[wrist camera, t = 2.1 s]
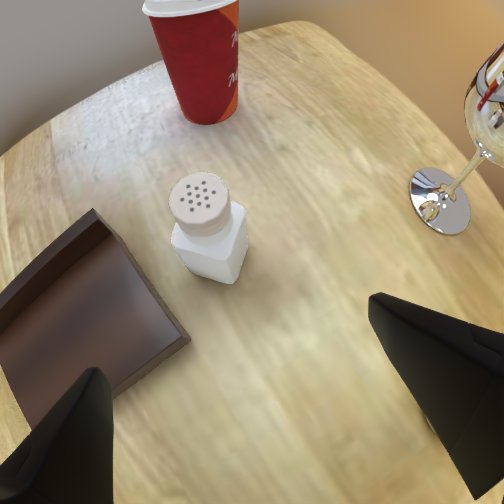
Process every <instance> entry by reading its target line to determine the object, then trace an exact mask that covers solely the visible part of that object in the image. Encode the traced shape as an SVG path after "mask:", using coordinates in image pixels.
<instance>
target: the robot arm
mask: <svg viewBox="0 0 504 504" xmlns="http://www.w3.org/2000/svg"><path fill="white" fill-rule="evenodd" d="M368 317H369V321H370V324H371V325H372V327H373V329H374V331H375V333H376V335H377V337H378V339H379V341H380V343H381V345H382V347H383V349H384V351H385V353H386V354H387V356H388V358H389V360H390V361H391V363H392V364H393V366H394V367H395V369H396V370H397V372H398V373H399V375H400V376H401V378H402V380H403V381H404V383H405V384H406V386H407V387H408V389H409V390H410V392H411V393H412V395H413V397H414V398H415V400H416V401H417V403H418V404H419V406H420V408H421V409H422V411H423V412H424V414H425V416H426V417H427V419H428V420H429V422H430V424H431V425H432V427H433V429H434V430H435V432H436V434H437V435H438V437H439V438H440V440H441V442H442V443H443V445H444V447H445V449H446V450H447V452H448V453H449V456H450V457H451V459H452V461H453V462H454V464H455V466H456V468H457V469H458V471H459V473H460V475H461V476H462V478H463V480H464V482H465V484H466V485H467V487H468V489H469V491H470V493H471V494H472V496H473V498H474V499H475V500H477V499H479V498H480V497H481V496H483V495H484V494H485V493H487V492H488V491H489V490H490V489H492V488H493V487H494V486H495V485H497V484H498V483H499V482H500V481H501V480H503V479H504V334H503V333H499V332H495V331H492V330H489V329H486V328H483V327H479V326H477V325H474V324H471V323H469V324H468V322H465V321H462V320H459V319H457V318H454V317H451V316H448V315H445V314H442V313H439V312H437V311H434V310H431V309H428V308H425V307H422V306H419V305H416V304H414V303H411V302H408V301H405V300H402V299H399V298H396V297H394V296H391V295H388V294H385V293H382V292H379V293H376V294H373V295H371V296H370V297H369V307H368ZM113 434H114V424H113V405H112V387H111V384H110V382H109V381H108V379H107V378H106V376H105V375H104V373H103V372H102V370H101V369H100V368H99V367H90V368H87V369H86V370H85V371H84V372H83V373H82V374H81V375H80V376H79V378H78V379H77V380H76V381H75V382H74V383H73V384H72V385H71V386H70V388H69V389H68V390H67V391H66V392H65V393H64V394H63V395H62V397H61V398H60V399H59V400H58V401H57V402H56V403H55V404H54V406H53V407H52V408H51V409H50V410H49V411H48V412H47V414H46V415H45V416H44V417H43V418H42V419H41V421H40V422H39V423H38V424H37V425H36V426H35V428H34V429H33V430H32V431H31V432H30V435H28V436H27V437H26V438H25V439H24V441H23V442H22V443H21V444H20V445H19V446H18V447H17V449H16V450H15V451H14V452H13V453H12V454H11V455H10V456H9V457H8V458H7V459H6V460H5V461H4V462H3V463H2V464H1V465H0V504H114V503H113ZM502 504H504V496H503V500H502Z"/></svg>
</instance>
